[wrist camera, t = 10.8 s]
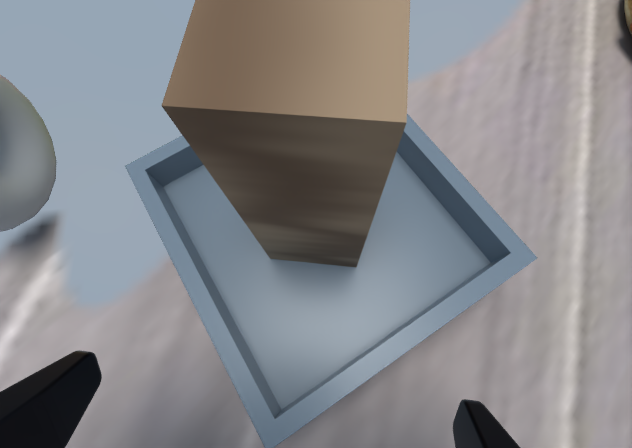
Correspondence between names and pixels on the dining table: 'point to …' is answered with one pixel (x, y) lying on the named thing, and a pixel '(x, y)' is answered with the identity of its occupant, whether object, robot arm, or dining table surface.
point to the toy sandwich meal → (628, 14)
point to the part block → (296, 115)
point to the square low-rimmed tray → (327, 279)
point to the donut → (23, 158)
